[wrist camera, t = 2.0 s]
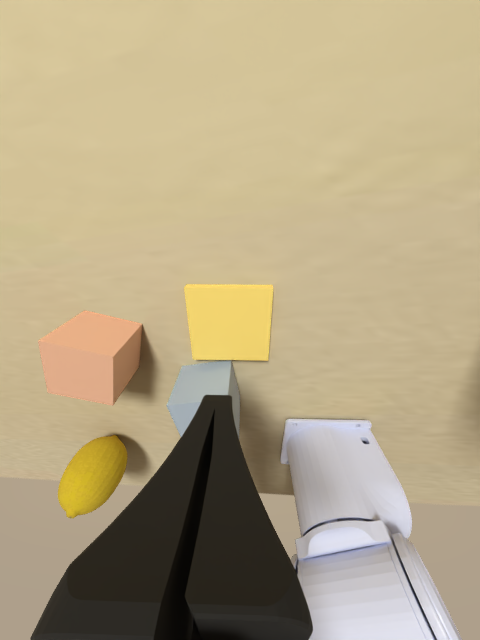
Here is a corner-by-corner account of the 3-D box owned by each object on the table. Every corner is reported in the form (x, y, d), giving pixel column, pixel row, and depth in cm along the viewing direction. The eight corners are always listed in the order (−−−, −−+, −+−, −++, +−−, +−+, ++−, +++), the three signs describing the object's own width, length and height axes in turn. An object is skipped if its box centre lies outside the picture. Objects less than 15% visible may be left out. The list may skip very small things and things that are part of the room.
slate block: (231, 359, 22) (227, 398, 17) (240, 396, 24) (239, 439, 19) (182, 365, 22) (166, 405, 18) (195, 401, 24) (184, 444, 20)
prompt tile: (272, 284, 18) (273, 288, 17) (267, 355, 21) (268, 360, 20) (186, 284, 18) (184, 287, 17) (194, 354, 21) (192, 359, 21)
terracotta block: (142, 323, 20) (113, 356, 16) (139, 365, 22) (113, 405, 18) (85, 310, 19) (38, 340, 15) (88, 354, 22) (47, 392, 17)
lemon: (117, 455, 29) (76, 535, 22) (83, 431, 27) (24, 512, 20) (147, 440, 28) (113, 522, 20) (113, 414, 25) (62, 495, 18)
